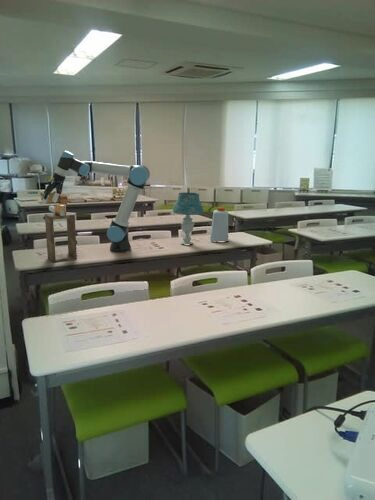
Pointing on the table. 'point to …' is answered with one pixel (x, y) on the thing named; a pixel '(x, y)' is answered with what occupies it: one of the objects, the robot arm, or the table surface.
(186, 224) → the table lamp
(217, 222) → the plastic bottle
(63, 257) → the stand
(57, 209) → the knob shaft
